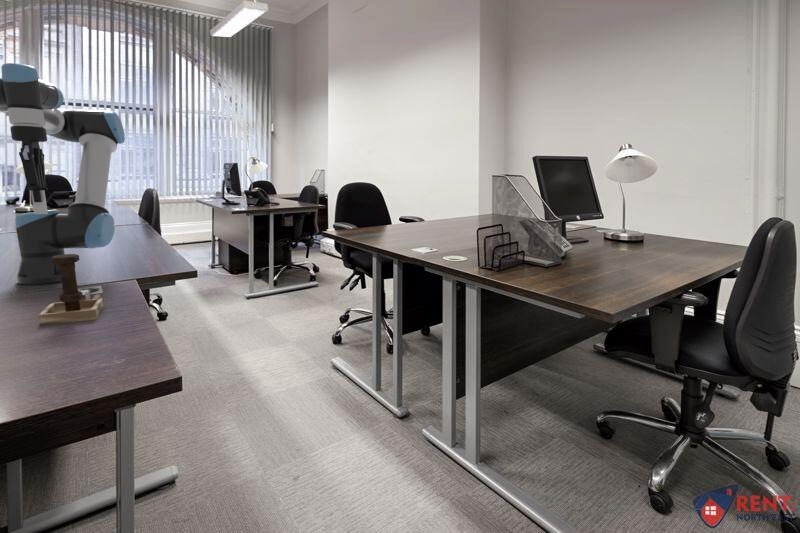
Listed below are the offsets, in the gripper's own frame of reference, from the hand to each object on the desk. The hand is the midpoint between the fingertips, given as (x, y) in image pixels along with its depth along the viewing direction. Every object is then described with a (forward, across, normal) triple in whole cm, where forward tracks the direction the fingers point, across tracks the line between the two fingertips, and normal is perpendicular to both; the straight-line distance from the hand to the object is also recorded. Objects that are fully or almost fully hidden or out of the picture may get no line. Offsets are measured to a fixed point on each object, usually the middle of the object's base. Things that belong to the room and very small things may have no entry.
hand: (41, 213), depth 128 cm
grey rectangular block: (+24, +12, +9) cm, 29 cm away
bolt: (+24, +22, +9) cm, 34 cm away
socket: (+24, +16, +9) cm, 31 cm away
